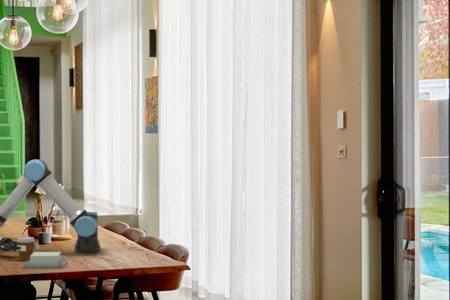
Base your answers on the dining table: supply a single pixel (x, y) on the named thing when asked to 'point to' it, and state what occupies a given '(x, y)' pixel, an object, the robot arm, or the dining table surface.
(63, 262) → the tower base
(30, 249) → the disposable coffee cup
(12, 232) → the dining table surface
